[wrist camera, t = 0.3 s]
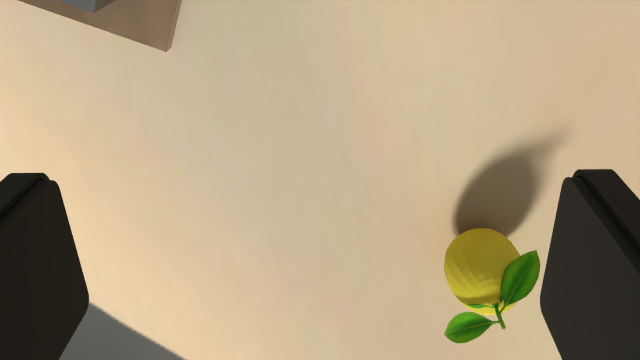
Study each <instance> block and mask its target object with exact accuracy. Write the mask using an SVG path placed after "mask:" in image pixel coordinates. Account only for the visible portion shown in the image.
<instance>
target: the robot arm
mask: <svg viewBox="0 0 640 360" xmlns="http://www.w3.org/2000/svg"><path fill="white" fill-rule="evenodd" d="M88 303H89V294H88V290H87V286H86V282H85V279H84V275H83V272H82V268H81V264H80V261H79V257H78V254H77V250H76V246H75V243H74V239H73V235H72V232H71V228H70V225H69V221H68V217H67V214H66V210H65V207H64V203H63V199H62V196H61V192H60V189H59V186H58V184H57V183H56V182H55V181H53V180H50V179H49V178H48V176H47V175H46V174H44V173H11V174H9V175H7V176H6V177H5V178H4V179H3V180H2V181H1V182H0V360H58V359H59V358H60V356H61V354H62V353H63V351H64V349H65V348H66V346H67V344H68V342H69V341H70V339H71V337H72V336H73V334H74V332H75V330H76V329H77V327H78V325H79V323H80V322H81V320H82V318H83V317H84V314H85V313H86V311H87V307H88ZM540 306H541V311H542V314H543V317H544V319H545V321H546V324H547V326H548V328H549V330H550V333H551V335H552V337H553V340H554V342H555V344H556V346H557V349H558V351H559V353H560V355H561V358H562V360H640V200H639V199H638V197H637V196H636V195H635V194H634V193H633V192H632V191H631V190H630V188H629V187H628V186H627V185H626V184H625V183H624V182H623V180H622V179H621V178H620V177H619V176H618V175H617V174H616V173H615V172H614V171H613V170H612V169H583V170H577V171H576V172H575V173H574V175H573V177H567V178H565V179H564V181H563V184H562V188H561V193H560V198H559V203H558V208H557V213H556V218H555V223H554V228H553V233H552V238H551V243H550V248H549V253H548V258H547V264H546V269H545V274H544V279H543V284H542V289H541V295H540Z"/></svg>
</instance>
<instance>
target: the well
mask: <svg viewBox="0 0 640 360" xmlns="http://www.w3.org/2000/svg"><path fill="white" fill-rule="evenodd" d="M19 1H22V2H24V3H27V4H30V5H33V6H36V7H39V8H42V9H44V10H47V11H50V12H53V13H56V14H59V15H62V16H65V17H67V18H70V19H73V20H76V21H79V22H82V23H85V24H88V25H90V26H93V27H96V28H99V29H102V30H105V31H108V32H111V33H113V34H116V35H119V36H122V37H125V38H128V39H131V40H134V41H136V42H139V43H142V44H145V45H148V46H151V47H154V48H157V49H159V50H162V51H165V52H167V51H168V50H169V49H170V48H171V43H172V39H173V35H174V30H175V26H176V22H177V17H178V13H179V9H180V4H181V0H19Z"/></svg>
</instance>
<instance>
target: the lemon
mask: <svg viewBox="0 0 640 360" xmlns="http://www.w3.org/2000/svg"><path fill="white" fill-rule="evenodd" d="M444 271H445V275H446V278H447V282H448V285H449V287H450V289H451V290H452V292H453V293H454V295H455V296H456V297H457V299H458V300H459V301H460V302H461V303H462V304H463V305H464V306H466V307H467V308H469V309H470V310H472V311H474V312H476V313H480V314H483V315H497V317H498V319H499V321H491V320H489V319H487V318H485V317H483V316H481V315H479V314H476V313H473V312H464V313H460V314H458V315H456V316H455V317H454V318H453V319H452V320H451V321H450V322H449V324H448V326H447V329H446V331H445V333H444V335H445V336H446V337H447V338H448V339H450V340H451V341H453V342H455V343H466V342H469V341H471V340H473V339H475V338H477V337H479V336H480V335H482V334H483V333H484V332H485V331H486V330H487V329H488V328H489V327H490V326H491V325H492V324H495V323H500V324H501V327H502V329H503V330H504V329H505V328H506V327H505V325H504V322H503V320H502V317H501V313H503V312H505V311H508V310H509V309H510V308H512V307H513V306H514V305H515V304H516V303H517V301H519V300H521V299H523V298H524V297H526V296H527V295H528V294H529V293H530V292H531V290H532V289H533V287H534V285H535V283H536V281H537V279H538V276H539V271H540V261H539V257H538V255H537V251H536V250H535V251H532V252H528V253H526V254H524V255H522V256H520V255H519V253H518V251H517V250H516V248H515V247H514V245H513V244H512V242H511V241H510V240H508V239H507V238H506V237H505V236H504V235H502V234H501V233H500V232H498V231H495V230H492V229H489V228H476V229H472V230H468V231H466V232H464V233H462V234H460V235H459V236H457V237H456V238H455V239H454V240H453V241H452V242H451V244H450V246H449V247H448V249H447V251H446V254H445V262H444Z"/></svg>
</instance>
